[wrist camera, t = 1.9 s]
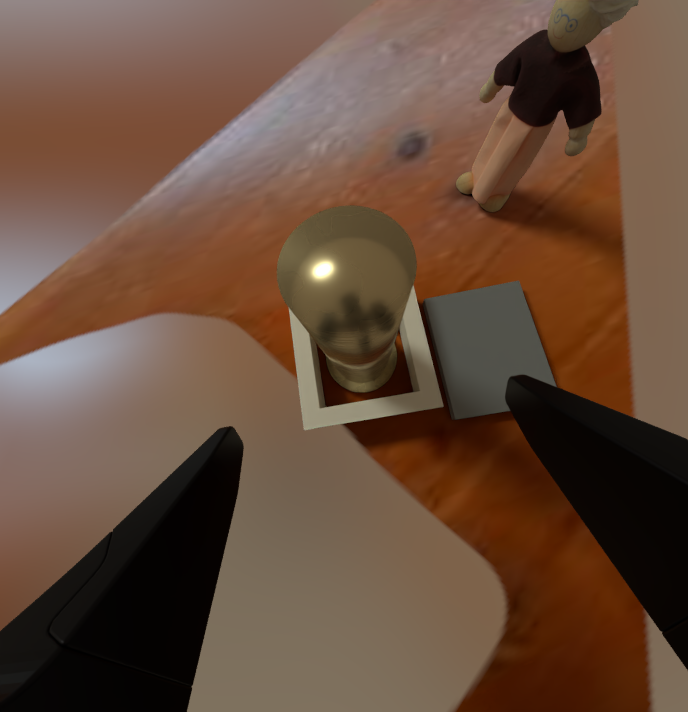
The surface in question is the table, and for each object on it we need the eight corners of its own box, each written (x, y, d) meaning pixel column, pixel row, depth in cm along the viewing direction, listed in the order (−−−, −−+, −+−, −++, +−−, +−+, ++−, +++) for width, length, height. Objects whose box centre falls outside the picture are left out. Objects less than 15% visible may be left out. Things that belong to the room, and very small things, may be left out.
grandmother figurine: (435, 189, 23) (513, -79, 10) (461, 159, 23) (564, -134, 11) (516, 233, 21) (723, -24, 9) (542, 199, 21) (775, -92, 9)
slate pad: (553, 402, 18) (562, 402, 17) (451, 419, 18) (455, 419, 18) (513, 285, 20) (518, 280, 19) (422, 303, 20) (424, 299, 20)
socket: (434, 407, 19) (443, 406, 16) (312, 428, 19) (304, 430, 17) (406, 294, 21) (411, 278, 18) (297, 316, 21) (288, 303, 19)
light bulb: (402, 386, 19) (461, 334, 7) (333, 398, 20) (265, 370, 7) (388, 321, 20) (415, 172, 8) (323, 333, 21) (250, 209, 8)
